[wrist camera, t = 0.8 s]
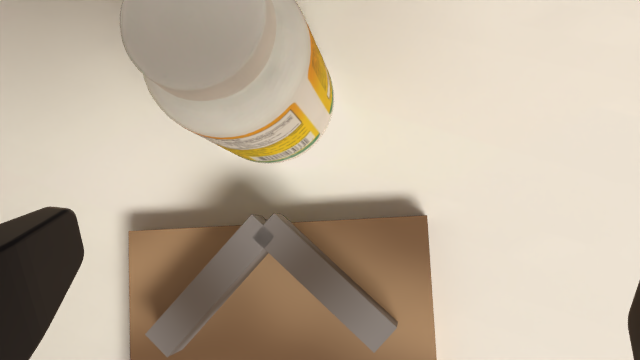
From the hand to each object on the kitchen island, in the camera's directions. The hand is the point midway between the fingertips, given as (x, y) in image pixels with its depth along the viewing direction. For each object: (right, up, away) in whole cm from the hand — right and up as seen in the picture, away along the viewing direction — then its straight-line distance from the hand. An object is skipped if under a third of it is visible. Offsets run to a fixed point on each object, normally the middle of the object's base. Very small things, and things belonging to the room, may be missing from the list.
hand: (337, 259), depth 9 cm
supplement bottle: (-2, +5, +16) cm, 16 cm away
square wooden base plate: (-2, -7, +14) cm, 16 cm away
